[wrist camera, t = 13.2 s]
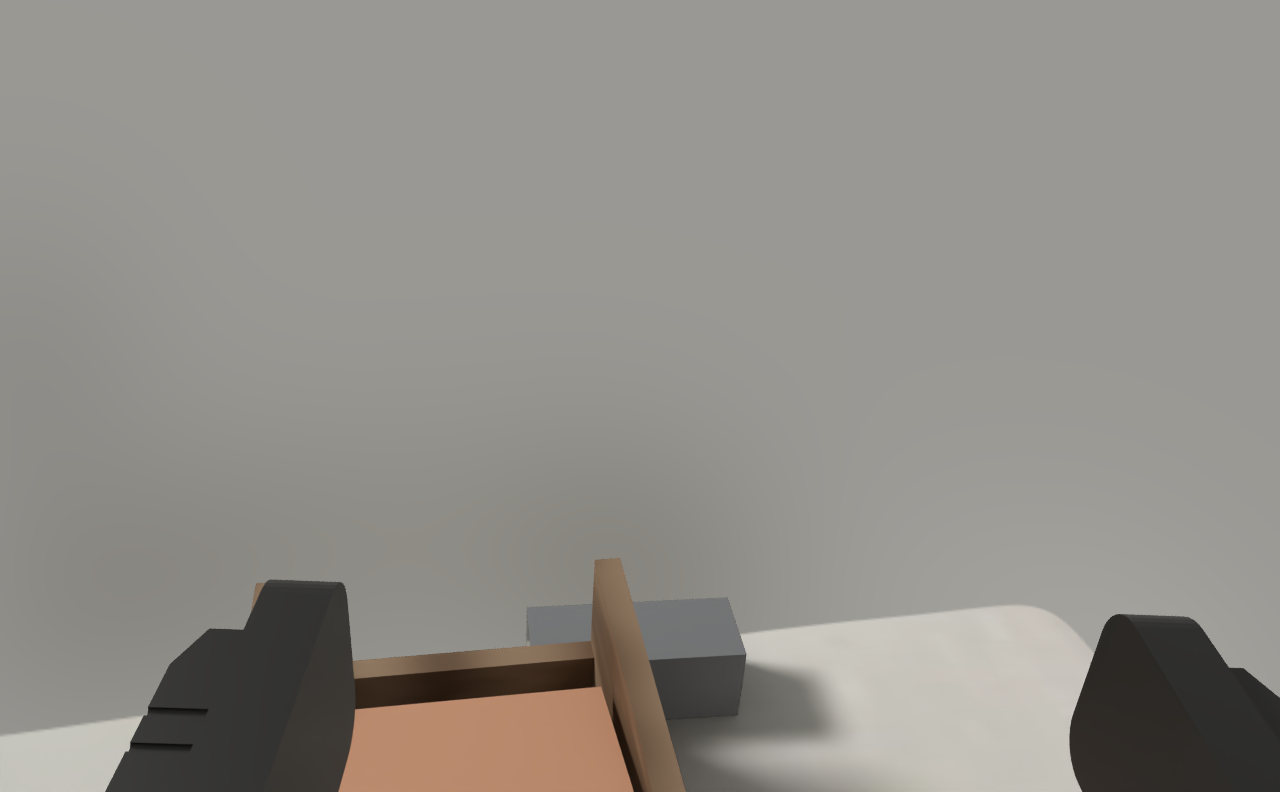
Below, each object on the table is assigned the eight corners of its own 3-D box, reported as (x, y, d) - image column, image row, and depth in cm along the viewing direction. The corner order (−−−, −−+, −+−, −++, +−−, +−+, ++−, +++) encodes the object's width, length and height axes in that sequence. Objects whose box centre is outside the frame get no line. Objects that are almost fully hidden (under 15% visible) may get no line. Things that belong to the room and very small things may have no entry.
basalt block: (737, 717, 59) (530, 731, 57) (719, 659, 63) (525, 670, 61) (746, 654, 56) (531, 666, 55) (727, 597, 60) (526, 607, 59)
